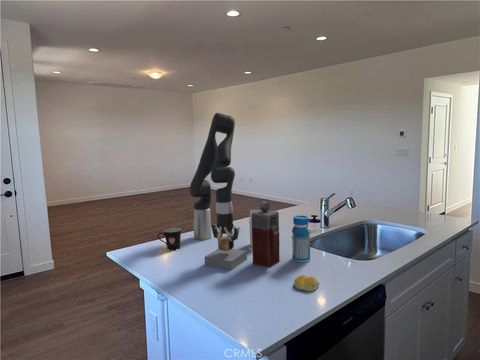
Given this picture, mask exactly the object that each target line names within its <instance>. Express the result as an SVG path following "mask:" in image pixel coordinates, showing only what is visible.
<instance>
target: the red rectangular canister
mask: <svg viewBox="0 0 480 360" xmlns="http://www.w3.org/2000/svg"><path fill="white" fill-rule="evenodd" d="M259 210H260V211H257V212H254V213H252V215H251V217H252V247H251V249H252V265H256V266H260V267H263V268H264V267H265V268H268V269H269V268H272V267H274V265H277V264H278V263H280V260H281V259H280V257H281V255H280V216H279V215H280V213H279V211H276V210H270V203H269V201H261V203H260V205H259Z"/></svg>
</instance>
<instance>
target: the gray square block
mask: <svg viewBox="0 0 480 360" xmlns="http://www.w3.org/2000/svg"><path fill="white" fill-rule="evenodd" d="M247 252H248V251H247V250H241V249H234V248H233V249H231V250H229V251H223V250H218V248H217V249H216V250H214V251H212V252H210V253H208V254H206V255H205V256H204V266H207V267H212V268H218V269H223V270H226V271H233V270H235V269H236V268H237V267H238V266H240V265H241V264H242V263H244V262H246V261H247V260H248V254H247Z"/></svg>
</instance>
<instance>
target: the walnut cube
mask: <svg viewBox="0 0 480 360" xmlns="http://www.w3.org/2000/svg"><path fill="white" fill-rule="evenodd" d="M217 245H218V246H217V247H218V248H217V249H218V250H223V251H229V250H231V249H229V238H228V237H227V235H223V236H222V237H221V238H219V239H217ZM234 247H235V246H234ZM234 247H233V249H234Z"/></svg>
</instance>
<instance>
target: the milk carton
mask: <svg viewBox="0 0 480 360" xmlns="http://www.w3.org/2000/svg"><path fill="white" fill-rule="evenodd" d="M260 210H261V209H250V211H249V221H248V222H249V247H250V248H252V217H251V215H252V213H254V212H257V211H260Z"/></svg>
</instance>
